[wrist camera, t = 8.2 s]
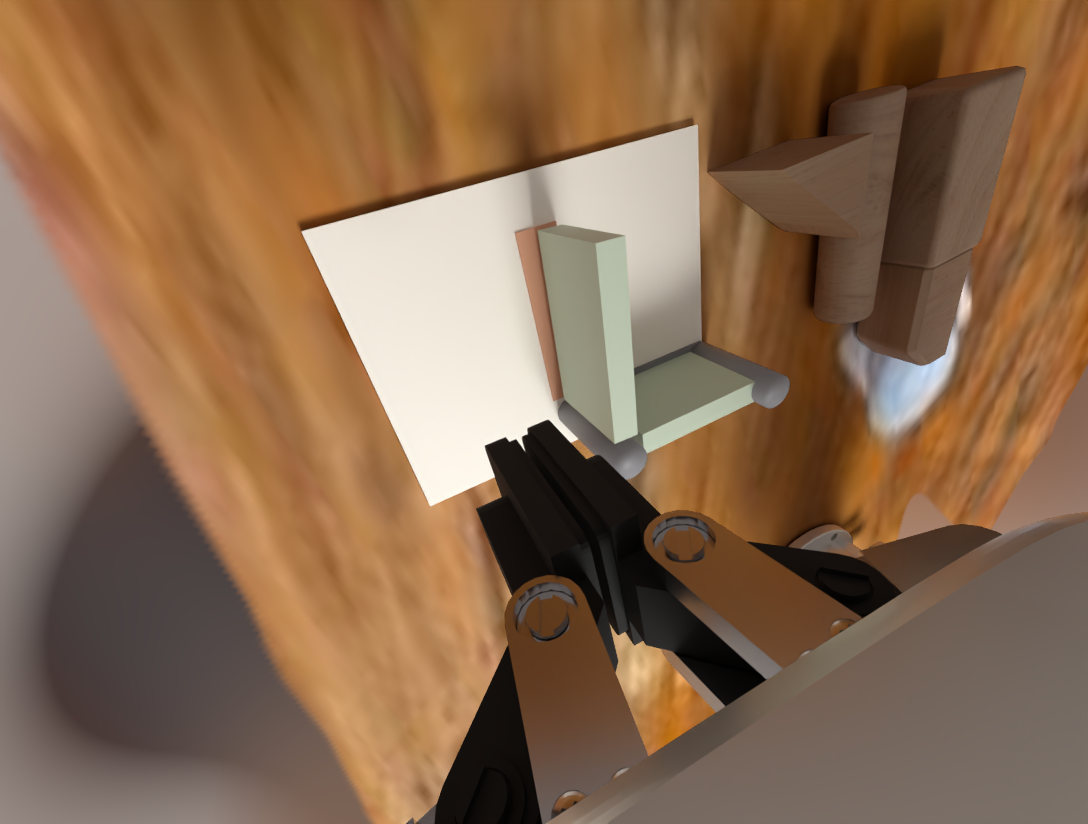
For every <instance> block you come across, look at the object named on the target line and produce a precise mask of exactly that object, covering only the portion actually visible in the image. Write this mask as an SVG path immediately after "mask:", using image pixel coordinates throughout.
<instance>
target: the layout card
mask: <svg viewBox="0 0 1088 824" xmlns="http://www.w3.org/2000/svg"><path fill="white" fill-rule="evenodd" d="M562 224H563V225H569V226H574V227H580V228H586V229H591V230H597V231H603V232H608V233H614V234H620V235H625V238H626V254H627V270H628V286H629V302H630V318H631V334H632V350H633V366H634V375H637V374H639V373H641V372H644V371H646V370H648V369H651V368H653V367H655V366H658V365H660V364H662V363H665V362H667V361H669V360H672V359H674V358H676V357H679V356H681V355H683V354H686V353H688V352H690V351H691V349H692V348H693V347H694V346H695V345H697V344H698V343H701V342H702V322H701V267H700V212H699V157H698V125H693V126H689V127H685V128H681V129H678V130H674V131H670V132H667V133H663V134H659V135H656V136H652V137H648V138H644V139H641V140H637V141H633V142H630V143H626V144H622V145H618V146H615V147H611V148H607V149H604V150H600V151H596V152H592V153H589V154H585V155H581V156H578V157H574V158H570V159H566V160H563V161H559V162H555V163H552V164H548V165H544V166H540V167H537V168H533V169H529V170H526V171H522V172H518V173H514V174H511V175H507V176H503V177H500V178H496V179H492V180H488V181H485V182H481V183H477V184H474V185H470V186H466V187H462V188H459V189H455V190H451V191H448V192H444V193H440V194H436V195H433V196H429V197H425V198H422V199H418V200H414V201H411V202H407V203H403V204H399V205H396V206H392V207H388V208H385V209H381V210H377V211H373V212H370V213H366V214H362V215H359V216H355V217H351V218H347V219H344V220H340V221H336V222H333V223H329V224H325V225H321V226H318V227H314V228H310V229H307V230H303V231H301V232H302V234H303V236H304V238H305V240H306V242H307V245H308V247H309V249H310V251H311V253H312V255H313V257H314V259H315V262H316V264H317V266H318V268H319V270H320V272H321V274H322V276H323V279H324V281H325V283H326V285H327V287H328V289H329V291H330V294H331V296H332V298H333V300H334V302H335V304H336V306H337V308H338V311H339V313H340V315H341V317H342V319H343V321H344V323H345V325H346V328H347V330H348V332H349V334H350V336H351V338H352V340H353V343H354V345H355V347H356V349H357V351H358V353H359V355H360V357H361V360H362V362H363V364H364V366H365V368H366V370H367V372H368V375H369V377H370V379H371V381H372V383H373V385H374V387H375V389H376V392H377V394H378V396H379V398H380V400H381V402H382V404H383V406H384V409H385V411H386V413H387V415H388V417H389V419H390V421H391V424H392V426H393V428H394V430H395V432H396V434H397V436H398V438H399V441H400V443H401V445H402V447H403V449H404V451H405V453H406V455H407V458H408V460H409V462H410V464H411V466H412V468H413V470H414V473H415V475H416V477H417V479H418V481H419V483H420V485H421V487H422V490H423V492H424V494H425V496H426V498H427V500H428V502H429V505H430V506H432V505H434V504H436V503H439V502H441V501H443V500H445V499H447V498H450V497H452V496H454V495H456V494H458V493H461V492H463V491H465V490H467V489H469V488H472V487H474V486H476V485H478V484H480V483H483V482H485V481H487V480H489V479H492V478H494V477H495V476H494V473H493V470H492V467H491V465H490V462H489V459H488V456H487V453H486V450H485V445H487V444H490V443H492V442H495V441H497V440H499V439H502V438H504V437H506V438H507V439H508V441H509V442H510V441H512V440H515V439H516V440H517V441H518V442H519V444H520V445H521V446H522V448H523V449H524V445H523V442H522V436H524V435H527V434H528V432H527V428H528V427H531V426H533V425H536V424H538V423H540V422H543V421H545V420H550V421H551V422H552V423H553V425H554V426H555V427H556V428H557V429H558V430H559V431H560V432H561V433H562V434H563V435H564V436H565V437H566V438H567V439H568V440H569V442H570V443H571V442H573V441H575V440H578V438H577V437H576V436H575V435H574V434H573V433H572V432H571V431H570V430H569V429H568V428H567V427H566V426H565V425H564V424H563V423H562V422H561V421H560V420H559V417H558V410H559V407H560V405H561V404H562V402H563V401H564V395H563V389H562V383H561V376H560V370H559V364H558V357H557V351H556V345H555V338H554V332H553V326H552V319H551V313H550V307H549V300H548V294H547V288H546V281H545V275H544V269H543V262H542V256H541V250H540V243H539V237H538V230H542V229H546V228H550V227H554V226H558V225H562ZM524 450H525V449H524Z"/></svg>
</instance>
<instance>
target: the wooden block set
mask: <svg viewBox="0 0 1088 824" xmlns="http://www.w3.org/2000/svg"><path fill="white" fill-rule="evenodd" d="M1025 75H1026V70H1025V68H1023V67H1019V66H1012V67H1006V68H1000V69H994V70H988V71H982V72H976V73H970V74H964V75H958V76H952V77H946V78H940V79H935V80H932V81H930V82H927V83H924V84H922V85H919V86H917V87H914V88H911V89H909V90H907V89H906V86H903V85H891V86H885V87H879V88H874V89H870V90H866V91H862V92H858V93H854V94H851V95H848V96H845V97H842V98H840V99H838V100H836V101H834V102H833V103H832V104H831V106H830V108H829V116H828V129H827V137H817V138H806V139H794V140H788V141H786V142H783V143H780V144H778V145H775V146H773V147H770V148H768V149H765V150H762V151H760V152H757V153H755V154H752V155H749V156H747V157H744V158H742V159H739V160H737V161H734V162H731V163H729V164H726V165H724V166H721V167H719V168H716V169H713V170H711V171H708V173H709V174H710V175H711V176H712V177H713V178H714V179H716V180H717V181H718V182H719V183H720V184H721V185H723V186H724V187H725V188H726V189H727V190H728V191H730V192H731V193H732V194H734V195H735V196H736V197H738V198H739V199H740V200H742V201H743V202H744V203H746V204H747V205H748V206H750V207H751V208H752V209H754V210H755V211H756V212H758V213H759V214H760V215H762V216H763V217H764V218H766V219H767V220H768V221H770V222H771V223H772V224H774V225H775V226H776V227H778V228H780V229H782V230H784V231H786V232H796V233H805V234H815V235H819V245H818V258H817V271H816V284H815V297H814V309H813V313H814V315H815V317H816V318H817V319H818V320H820V321H823V322H827V323H833V324H846V323H853V322H858V326H857V333H856V334H857V336H858V338H859V340H860V341H861V342H862V343H863V344H865V345H866V346H867V347H868V348H869V349H871V350H872V351H874V352H877V353H880V354H884V355H887V356H890V357H893V358H897V359H900V360H903V361H907V362H910V363H913V364H916V365H920V366H921V365H927V364H930V363H931V362H933V361H935V360H936V359H938V358H940V357H941V356H943V355H945V353H946V349H947V345H948V341H949V338H950V334H951V330H952V326H953V323H954V319H955V315H956V311H957V307H958V304H959V300H960V296H961V292H962V289H963V285H964V281H965V277H966V274H967V270H968V266H969V262H970V258H971V255H972V251H973V249H972V247H974V246H976V245H977V244H978V243H979V241H980V240H981V237H982V234H983V230H984V226H985V223H986V219H987V215H988V212H989V208H990V204H991V200H992V197H993V193H994V189H995V186H996V182H997V178H998V175H999V171H1000V167H1001V164H1002V160H1003V156H1004V153H1005V149H1006V145H1007V142H1008V138H1009V134H1010V130H1011V127H1012V123H1013V119H1014V116H1015V112H1016V108H1017V105H1018V101H1019V97H1020V94H1021V90H1022V86H1023V83H1024V79H1025Z"/></svg>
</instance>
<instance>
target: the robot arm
mask: <svg viewBox="0 0 1088 824" xmlns="http://www.w3.org/2000/svg"><path fill="white" fill-rule="evenodd" d="M527 432H528V434H527V435H524V436H522V442H523V445H524V449H525V450H524V449H523V448H522V446H521V445H520V444H519V442H518V441H517V440H516V439H515V440H512V441H510V442H509V441H508V439H507V438H506V437H504V438H502V439H499V440H497V441H495V442H492V443H490V444H487V445H485V450H486V453H487V456H488V459H489V462H490V465H491V467H492V470H493V473H494V476H495V479H496V482H497V485H498V487H499V490H500V493H501V496H502V497H501V498H499V499H497V500H494V501H492V502H490V503H488V504H486V505H483V506H481V507H479V508H477V509H476V510H477V513H478V515H479V518H480V520H481V523H482V525H483V528H484V530H485V533H486V535H487V538H488V540H489V543H490V545H491V548H492V550H493V552H494V555H495V557H496V560H497V562H498V564H499V567H500V569H501V571H502V574H503V576H504V578H505V581H506V583H507V585H508V588H509V590H510V592H511V595H512V597H511V599H510V600H509V602H508V604H507V607H506V610H505V613H504V616H505V630H506V635H507V640H508V646H507V648H506V650H505V652H504V655H503V657H502V659H501V661H500V663H499V665H498V668H497V670H496V672H495V674H494V676H493V678H492V681H491V683H490V685H489V687H488V689H487V691H486V694H485V696H484V698H483V700H482V702H481V704H480V707H479V709H478V711H477V713H476V715H475V717H474V720H473V722H472V724H471V726H470V728H469V730H468V733H467V735H466V737H465V739H464V741H463V744H462V746H461V748H460V750H459V752H458V754H457V757H456V759H455V761H454V763H453V765H452V767H451V770H450V772H449V774H448V776H447V778H446V780H445V783H444V785H443V787H442V790H441V793H440V796H439V799H438V802H437V804H436V805H435V806H434V807H433V808H431V809H430V810H429V811H428V812H427V813H426V814H425V815H424V816H423V817H422V818H421V819H420V820H419V821H418V822H416V821H415V819H414V818H412V819H410V820H409V821H408V822H407V823H406V824H1088V512H1082V513H1075V514H1067V515H1063V516H1058V517H1053V518H1048V519H1045V520H1041V521H1038V522H1034V523H1031V524H1028V525H1025V526H1023V527H1020V528H1017V529H1015V530H1012V531H1010V532H1007V533H1005V534H1003V535H1002V534H1000V533H998V532H996V531H993V530H990V529H987V528H983V527H980V526H974V525H965V524H959V525H951V526H946V527H942V528H939V529H935V530H932V531H928V532H925V533H921V534H918V535H914V536H910V537H907V538H904V539H900V540H896V541H893V542H889V543H886V544H885V543H883V542H877V543H875V544H874V545H872V546H870V547H869V548H868V549H865V550H861V549H859V548H858V547H856V546H855V545H853V542H852V537H851V535H850V534H849V533H848V532H847V531H845V530H844V529H842V528H841V527H840V526H837V525H824V526H820V527H817V528H815V529H812V530H810V531H809V532H807V533H805V534H804V535H802V536H800V537H799V538H798V539H796V540H795V541H794V542H793V543H791V544H790V545H789V546H788V547H784V546H777V545H769V544H761V543H754V542H746V541H745V540H743V539H742V538H740V537H738V536H737V535H735V534H734V533H732V532H731V531H729V530H728V529H726V528H725V527H723V526H722V525H720V524H719V523H717V522H716V521H714V520H713V519H711V518H709V517H707V516H705V515H703V514H701V513H697V512H693V511H688V510H676V511H672V512H667V513H664V514H662V515H661V514H660V513H659V512H658V511H657V510H656V509H655V508H654V507H653V506H652V505H651V504H650V503H649V502H648V501H647V500H646V499H645V498H644V497H643V496H642V495H641V494H640V493H639V492H638V491H637V490H636V489H635V488H634V487H633V486H632V485H631V484H630V483H629V482H628V481H627V480H626V479H625V478H624V477H622V476H621V475H620V474H619V473H618V472H617V471H616V470H615V469H614V468H613V467H612V466H611V465H610V464H609V463H608V462H607V461H606V460H605V459H604V458H603V457H602V456H600V455H595V456H593V457H591V458H588V459H585V458H584V456H583V455H582V454H581V453H580V452H579V451H578V450H577V449H576V448H575V447H574V446H573V445H572V444H571V443H570V442H569V440H568V439H567V438H566V437H565V436H564V435H563V434H562V433H561V432H560V431H559V430H558V429H557V428H556V427H555V426H554V425H553V423H552V422H551V421H550V420H545V421H543V422H540V423H538V424H536V425H533V426H531V427H528V428H527ZM609 623H610V624H609ZM610 625H611V626H612V628H613V629H614V631H615V632H616V633H617V635H620V634H622V633H624V632H626V634H627V635H628V637H629V638H630V640H631V641H632V643H633V644H634V645H636V644H638V643H640V642H641V641H644V643H645V644H646V645H648V646H652V647H656V648H660V649H661V650H662V653H663V654H664V656H665V657H666V659H667V660H668V661H669V662H670V663H671V665H672V666H673V667H674V668H675V669H676V670H677V671H678V672H679V673H680V674H681V675H682V676H683V677H684V678H685V680H686V681H687V682H688V683H689V684H690V685H691V686H692V687H693V688H694V689H695V690H696V691H697V692H698V693H699V695H700V696H701V697H702V698H703V699H704V700H705V701H706V702H707V703H708V704H709V705H710V706H711V707H712V708H713V710H714V711H715V712H716V713H715V714H713V715H712V716H710V717H709V718H707V719H706V720H704V721H702V722H701V723H699V724H698V725H696V726H695V727H693V728H692V729H690V730H689V731H687V732H685V733H684V734H682V735H681V736H679V737H678V738H676V739H675V740H673V741H671V742H670V743H668V744H667V745H665V746H664V747H662V748H661V749H659V750H658V751H656V752H655V753H653V754H652V755H650V756H648V754H647V751H646V749H645V746H644V744H643V741H642V739H641V736H640V734H639V731H638V729H637V726H636V723H635V721H634V718H633V716H632V713H631V711H630V708H629V706H628V703H627V701H626V698H625V696H624V693H623V691H622V688H621V686H620V683H619V681H618V678H617V676H616V673H615V672H616V668H617V664H618V658H617V654H616V650H615V645H614V641H613V637H612V633H611V628H610Z"/></svg>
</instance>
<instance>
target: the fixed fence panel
mask: <svg viewBox="0 0 1088 824" xmlns="http://www.w3.org/2000/svg"><path fill="white" fill-rule="evenodd" d="M634 382H635V398H636V414H637V430H638V435H635V436H633V437H630V438H628V439H626V440H623V441H621V442H618V443H616V444H614V443H613V442H612V441H611V440H610V439H609V438H607V437H606V436H605V435H604V434H603V433H602V432H601V431H600V430H598V429H597V428H596V427H595V426H594V425H593V424H592V423H590V422H589V421H588V420H587V419H586V418H585V417H584V416H583V415H581V414H580V413H579V412H578V411H577V410H576V409H575V408H574V407H572V406H571V405H570V404H569V403H568V402H567V401H566V400H564V401H563V402H562V404H561V405H560V407H559V410H558V417H559V420H560V421H561V422H562V423H563V424H564V425H565V426H566V427H567V428H568V429H569V430H570V431H571V432H572V433H573V434H574V435H575V436H576V437H577V438H578V439H579V440H580V441H581V442H582V443H583V444H584V445H585V446H586V447H587V448H588V449H589V450H590V451H591V452H592V453H593V454H594V455H600V456H602V457H603V458H604V459H605V460H606V461H607V462H608V463H609V464H610V465H611V466H612V467H613V468H614V469H615V470H616V471H617V472H618V473H619V474H620V475H621V476H622V477H624V478H625V479H626V480H627V479H630V478H633V477H635V476H636V475H637V474H638V473H640V472H641V470H642V469H643V468H644V466H645V464H646V461H647V453H649V452H651V451H653V450H655V449H657V448H659V447H662V446H664V445H666V444H668V443H670V442H672V441H674V440H676V439H678V438H680V437H682V436H684V435H686V434H688V433H690V432H693V431H695V430H697V429H699V428H701V427H703V426H705V425H707V424H709V423H711V422H713V421H715V420H717V419H719V418H721V417H723V416H726V415H728V414H730V413H732V412H734V411H736V410H738V409H740V408H742V407H744V406H746V405H748V404H750V403H752V402H756V403H758V404H760V405H762V406H764V407H766V408H774V407H776V406H777V405H779V404H780V403H781V402H782V401H783V400H784V398H785V397H786V395H787V393H788V391H789V387H790V381H789V379H788V377H787V376H785V375H782V374H780V373H777V372H775V371H773V370H770V369H768V368H765V367H763V366H761V365H758V364H756V363H753V362H751V361H749V360H746V359H744V358H741V357H739V356H737V355H734V354H732V353H729V352H727V351H725V350H722V349H720V348H717V347H715V346H713V345H710V344H708V343H705V342H703V341H702V342H701V343H698V344H697V345H695V346H694V347H693V348H692V349H691V351H690V352H688V353H686V354H683V355H681V356H679V357H676V358H674V359H672V360H669V361H667V362H665V363H662V364H660V365H658V366H655V367H653V368H651V369H648V370H646V371H644V372H641V373H639V374H637V375H634Z"/></svg>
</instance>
